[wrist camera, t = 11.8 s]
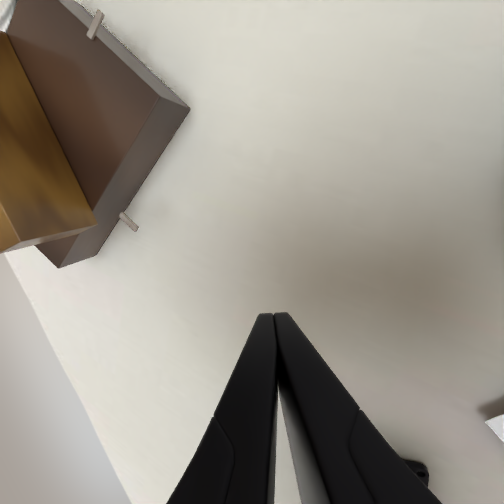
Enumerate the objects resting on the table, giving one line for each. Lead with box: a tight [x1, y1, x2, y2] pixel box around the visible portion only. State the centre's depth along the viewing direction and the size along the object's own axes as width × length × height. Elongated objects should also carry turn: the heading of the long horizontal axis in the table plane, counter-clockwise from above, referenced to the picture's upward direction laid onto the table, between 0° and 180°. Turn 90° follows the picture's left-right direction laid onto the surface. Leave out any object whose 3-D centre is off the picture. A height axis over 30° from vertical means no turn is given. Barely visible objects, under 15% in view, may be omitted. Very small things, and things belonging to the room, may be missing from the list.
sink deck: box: [6, 0, 190, 268], centre depth 20 cm, size 16×16×4 cm
